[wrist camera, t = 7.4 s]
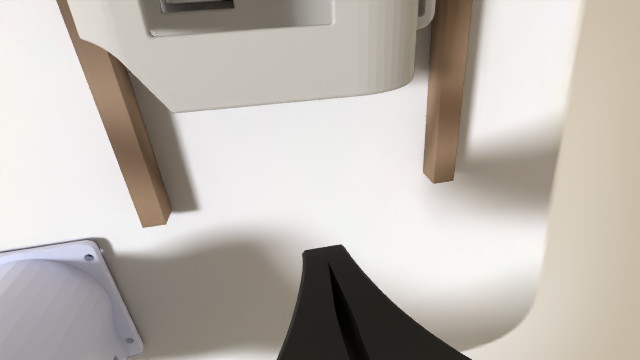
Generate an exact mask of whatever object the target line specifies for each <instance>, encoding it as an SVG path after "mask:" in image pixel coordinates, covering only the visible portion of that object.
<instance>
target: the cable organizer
mask: <svg viewBox="0 0 640 360" xmlns="http://www.w3.org/2000/svg"><path fill="white" fill-rule="evenodd" d="M206 1H221V0H166V2H167V3H170V4H173V3H190V2H206ZM67 2H68V5H69V8H70V11H71V14H72V16H73V19H74V22H75V25H76V28H77V31H78V34H79V37H80V38H81V39H83V40H85V41H88V42H91V43H93V44H95V45H97V46H99V47H101V48H103V49H105V50H106V51H108V52H109V53H111V54H112V55H114V56H115V57H116V58H117V59H118V60H120V61H121V62H122V63H123V64H124V65H125V66H126V67H127V68H128V69H129V70H130V71H131V72H132V73H133V74H134V75H135V76H136V77H137V78H138V79H139V80H140V81H141V82H142V83H143V84H144V85H145V86H146V87H147V88H148V89H149V90H150V91H151V92H152V93H153V94H154V95H155V96H156V97H157V98H158V99H159V100H160V101H161V102H162V103H163V104H164V105H165V106H166V107H167V108H168V109H169V110H170V111H171V112H172V113H183V112H193V111H204V110H215V109H225V108H236V107H247V106H257V105H268V104H279V103H289V102H300V101H311V100H321V99H332V98H343V97H353V96H363V95H371V94H377V93H383V92H387V91H391V90H395V89H398V88H401V87H403V86H405V85H407V84H409V83H410V82H411V81H412V79H413V77H414V62H415V47H416V32H417V30H418V29H422V28H424V27H426V26H427V25H428V24H429V23H430V22H431V21H432V19H433V17H434V14H435V4H436V0H233V2H234V8H225V9H210V10H195V11H180V12H164V13H163V12H162V8H161V4H160V0H67ZM151 33H153V34H155V35H156V36H153V35H152V34H151Z"/></svg>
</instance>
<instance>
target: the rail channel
mask: <svg viewBox="0 0 640 360" xmlns="http://www.w3.org/2000/svg"><path fill="white" fill-rule="evenodd" d="M56 1H57V3H58V6H59V9H60V11H61V14H62V17H63V19H64V22H65V25H66V27H67V30H68V32H69V35H70V38H71V40H72V43H73V46H74V48H75V51H76V53H77V56H78V59H79V61H80V64H81V67H82V69H83V72H84V74H85V77H86V80H87V82H88V85H89V88H90V90H91V93H92V95H93V98H94V101H95V103H96V106H97V109H98V111H99V114H100V116H101V119H102V122H103V124H104V127H105V130H106V132H107V135H108V137H109V140H110V143H111V145H112V148H113V151H114V153H115V156H116V159H117V161H118V164H119V166H120V169H121V172H122V174H123V177H124V180H125V182H126V185H127V187H128V190H129V193H130V195H131V198H132V201H133V203H134V206H135V208H136V211H137V214H138V216H139V219H140V222H141V224H142V227H143V228H145V227H152V226H158V225H165V224H166V223H167V221H168V218H169V216H170V213H171V210H172V209H171V205H170V202H169V199H168V196H167V193H166V190H165V187H164V184H163V181H162V178H161V175H160V172H159V169H158V165H157V162H156V159H155V156H154V153H153V150H152V147H151V144H150V141H149V138H148V135H147V132H146V129H145V125H144V122H143V119H142V116H141V113H140V110H139V107H138V104H137V101H136V98H135V95H134V92H133V89H132V85H131V82H130V79H129V76H128V73H127V70H126V67H125V65H124V64H123V63H122V62H121V61H120V60H118V59H117V58H116V57H115V56H114V55H112V54H111V53H109V52H108V51H106V50H105V49H103V48H101V47H99V46H97V45H95V44H93V43H91V42H88V41H85V40H83V39H81V38H80V37H79V34H78V31H77V28H76V25H75V22H74V19H73V16H72V14H71V11H70V8H69V5H68V2H67V0H56ZM471 10H472V0H436V4H435V14H434V17H433V19H432V33H431V49H430V66H429V83H428V99H427V116H426V133H425V149H424V166H423V173H424V174H425V175H426V176H427V177H428V178H429V179H430V180H431V181H432V182H433V184H435V183H442V182H448V181H453V180H454V171H455V161H456V152H457V142H458V133H459V123H460V114H461V104H462V95H463V85H464V76H465V66H466V57H467V48H468V38H469V29H470V19H471Z"/></svg>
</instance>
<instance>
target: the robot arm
mask: <svg viewBox="0 0 640 360" xmlns="http://www.w3.org/2000/svg"><path fill="white" fill-rule="evenodd" d="M87 254H90V255H92V256H93V257H90V256H88V255H87ZM302 256H303V269H302V278H301V283H300V289H299V294H298V298H297V302H296V306H295V309H294V313H293V317H292V320H291V323H290V326H289V329H288V332H287V335H286V338H285V340H284V343H283V346H282V348H281V351H280V353H279V355H278V358H277V360H472V359H470V358H468V357H466V356H465V355H463V354H461V353H460V352H458V351H457V350H455V349H454V348H452V347H451V346H449V345H448V344H446V343H445V342H443V341H442V340H440V339H439V338H437V337H436V336H434V335H433V334H431V333H430V332H429V331H427V330H426V329H425V328H423V327H422V326H421V325H419V324H418V323H417V322H416V321H414V320H413V319H412V318H411V317H409V316H408V315H407V314H406V313H405V312H403V311H402V310H401V309H400V308H399V307H398V306H397V305H396V304H394V303H393V302H392V301H391V300H390V299H389V298H388V297H387V296H386V295H385V294H384V293H383V292H382V291H381V290H380V289H379V288H378V287H377V286H376V285H375V284H374V283H373V282H372V281H371V280H370V278H369V277H368V276H367V275H366V274H365V273H364V272H363V271H362V270H361V268H360V267H359V266H358V265H357V263H356V262H355V261H354V260H353V258H352V257H351V256H350V255H349V253H348V252H347V250H346V249H345V247H344V246H342V245H341V244H340V245H334V246H328V247H322V248H316V249H310V250H305V251H304V252H303V253H302ZM143 348H144V345H143V343H142V340H141V338H140V336H139V334H138V332H137V330H136V328H135V325H134V323H133V321H132V319H131V317H130V315H129V313H128V310H127V308H126V306H125V304H124V302H123V300H122V298H121V295H120V293H119V291H118V289H117V287H116V285H115V283H114V280H113V278H112V276H111V274H110V272H109V270H108V268H107V265H106V263H105V261H104V259H103V257H102V255H101V252H100V250H99V248H98V246H97V245H96V243H94V242H93V241H90V240H83V241H77V242H70V243H64V244H57V245H50V246H44V247H37V248H31V249H24V250H18V251H11V252H5V253H0V360H127V357H128V356H133V355H138V354H140V353H142V351H143Z"/></svg>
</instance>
